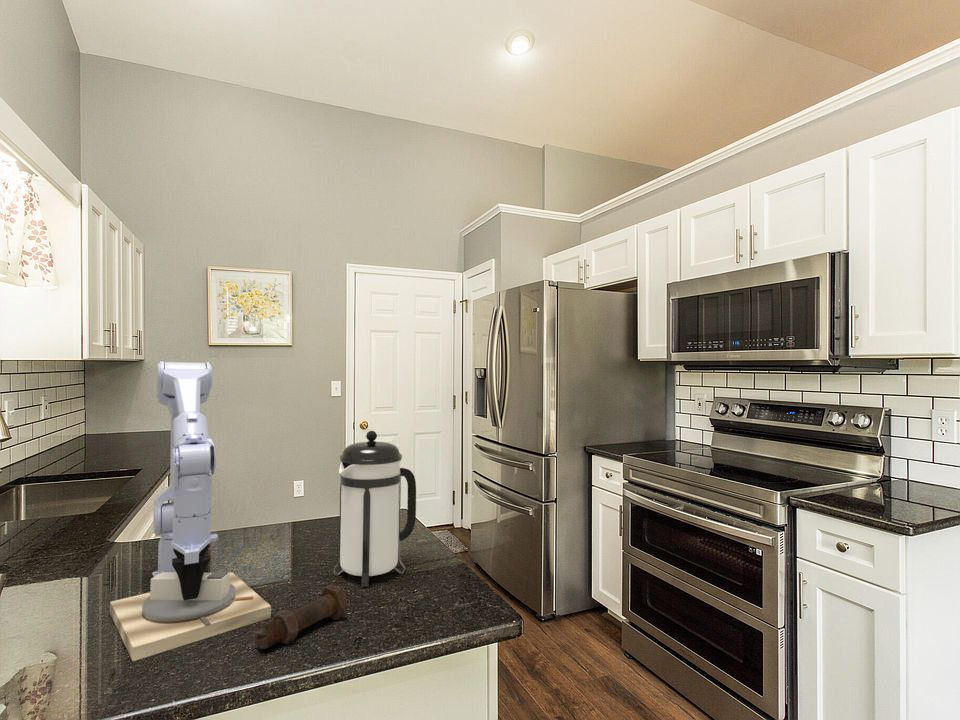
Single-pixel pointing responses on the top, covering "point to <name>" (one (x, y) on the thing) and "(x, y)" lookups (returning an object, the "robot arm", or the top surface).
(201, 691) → the top surface
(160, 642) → the dial board
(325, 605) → the bolt
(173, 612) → the dial
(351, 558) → the coffee press
